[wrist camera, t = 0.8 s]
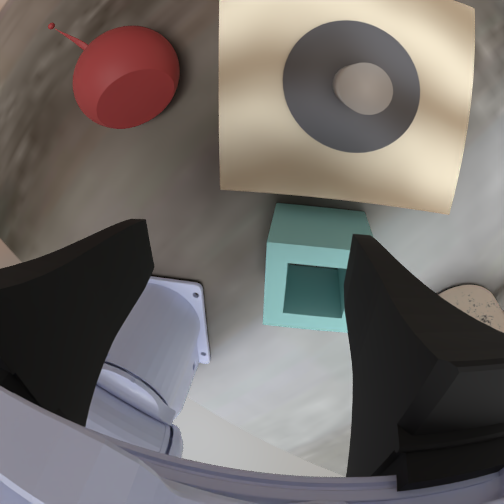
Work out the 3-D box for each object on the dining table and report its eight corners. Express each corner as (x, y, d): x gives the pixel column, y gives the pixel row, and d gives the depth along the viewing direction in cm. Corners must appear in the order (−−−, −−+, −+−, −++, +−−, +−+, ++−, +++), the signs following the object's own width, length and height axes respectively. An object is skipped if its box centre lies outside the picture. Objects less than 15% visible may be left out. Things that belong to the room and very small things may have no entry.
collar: (349, 283, 22) (355, 333, 18) (272, 275, 23) (262, 324, 19) (364, 211, 19) (378, 253, 15) (276, 202, 20) (266, 241, 16)
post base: (440, 204, 18) (475, 248, 13) (226, 181, 20) (199, 219, 15) (463, 11, 11) (510, -1, 6) (226, -22, 13) (196, -53, 8)
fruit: (176, 28, 17) (82, -22, 9) (210, 79, 16) (97, 21, 9) (118, 89, 19) (23, 63, 12) (140, 146, 18) (27, 126, 11)
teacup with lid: (429, 370, 26) (449, 477, 16) (385, 322, 24) (405, 456, 14) (529, 304, 20) (580, 402, 10) (506, 236, 18) (586, 349, 8)
